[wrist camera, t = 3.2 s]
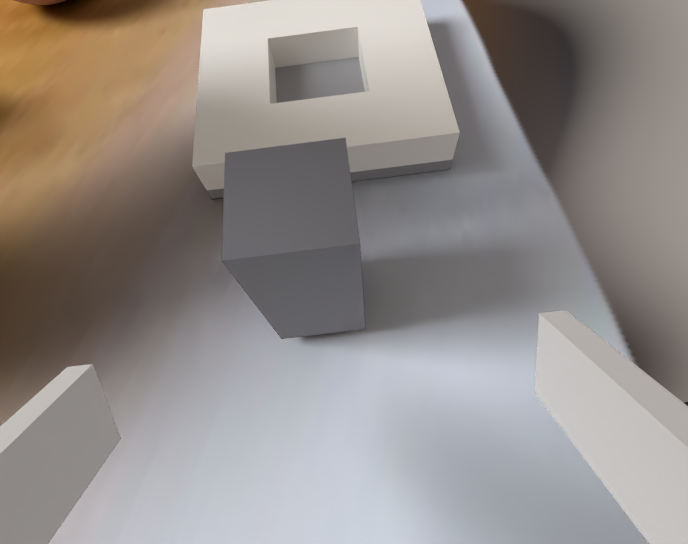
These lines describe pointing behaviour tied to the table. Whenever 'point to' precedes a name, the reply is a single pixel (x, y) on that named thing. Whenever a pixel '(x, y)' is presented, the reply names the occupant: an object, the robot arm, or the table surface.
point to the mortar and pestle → (40, 2)
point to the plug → (295, 236)
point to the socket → (323, 85)
